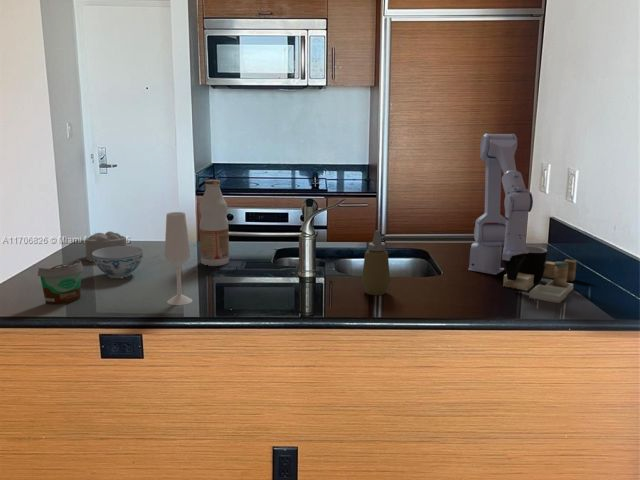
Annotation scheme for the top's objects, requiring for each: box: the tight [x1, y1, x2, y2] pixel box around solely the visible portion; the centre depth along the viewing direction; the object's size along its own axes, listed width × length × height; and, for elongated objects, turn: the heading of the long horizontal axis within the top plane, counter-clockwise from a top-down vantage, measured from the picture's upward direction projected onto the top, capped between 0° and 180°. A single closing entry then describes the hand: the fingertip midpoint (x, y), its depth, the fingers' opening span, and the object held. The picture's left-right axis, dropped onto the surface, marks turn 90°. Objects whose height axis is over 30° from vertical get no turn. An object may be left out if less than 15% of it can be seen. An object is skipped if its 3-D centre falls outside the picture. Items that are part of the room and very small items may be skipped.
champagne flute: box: [164, 211, 193, 306], centre depth 155 cm, size 7×7×24 cm
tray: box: [528, 283, 568, 304], centre depth 164 cm, size 8×8×2 cm
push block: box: [502, 273, 534, 291], centre depth 174 cm, size 7×6×4 cm
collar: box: [545, 279, 574, 295], centre depth 171 cm, size 6×6×2 cm
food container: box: [37, 258, 84, 305], centre depth 157 cm, size 12×6×10 cm, turn 148°
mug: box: [519, 245, 548, 285], centre depth 180 cm, size 12×9×10 cm
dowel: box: [553, 261, 568, 288], centre depth 171 cm, size 4×4×8 cm
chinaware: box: [92, 245, 144, 279], centre depth 181 cm, size 15×15×8 cm
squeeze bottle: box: [361, 230, 391, 296], centre depth 165 cm, size 8×8×18 cm
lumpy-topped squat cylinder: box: [84, 231, 128, 261], centre depth 202 cm, size 10×13×9 cm
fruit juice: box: [198, 179, 230, 267], centre depth 194 cm, size 9×9×28 cm
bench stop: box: [542, 258, 578, 282], centre depth 185 cm, size 17×3×6 cm, turn 54°
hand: (511, 279), depth 170 cm, fingers closed
